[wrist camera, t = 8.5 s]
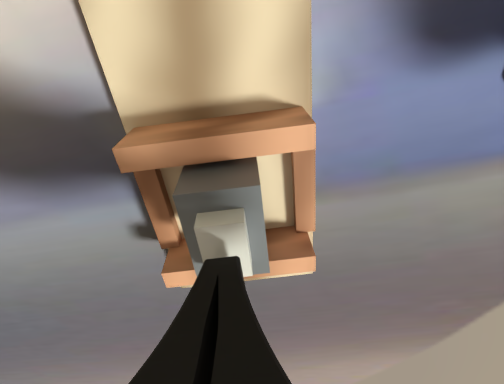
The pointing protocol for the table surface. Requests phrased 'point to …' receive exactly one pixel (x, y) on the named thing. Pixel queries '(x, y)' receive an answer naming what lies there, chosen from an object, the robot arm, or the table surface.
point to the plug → (223, 213)
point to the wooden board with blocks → (214, 110)
